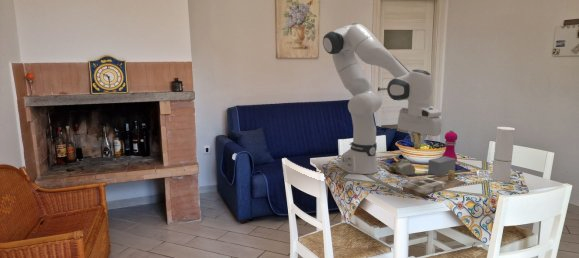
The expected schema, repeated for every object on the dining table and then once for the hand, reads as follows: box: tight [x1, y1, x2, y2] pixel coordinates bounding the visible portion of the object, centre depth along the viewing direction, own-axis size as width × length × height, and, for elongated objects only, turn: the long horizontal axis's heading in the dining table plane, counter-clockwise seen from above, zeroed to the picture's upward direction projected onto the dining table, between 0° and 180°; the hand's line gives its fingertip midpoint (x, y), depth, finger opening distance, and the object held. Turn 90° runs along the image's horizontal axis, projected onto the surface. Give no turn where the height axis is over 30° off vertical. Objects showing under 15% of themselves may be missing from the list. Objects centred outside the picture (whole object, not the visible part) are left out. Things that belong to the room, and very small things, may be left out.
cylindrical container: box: [491, 126, 516, 184], centre depth 182 cm, size 7×7×25 cm
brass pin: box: [413, 132, 422, 150], centre depth 168 cm, size 3×3×7 cm
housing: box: [427, 156, 457, 177], centre depth 194 cm, size 6×12×8 cm, turn 122°
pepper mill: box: [441, 128, 458, 162], centre depth 206 cm, size 7×7×20 cm
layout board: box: [402, 170, 468, 199], centre depth 177 cm, size 12×28×6 cm, turn 123°
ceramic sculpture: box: [387, 157, 416, 176], centre depth 196 cm, size 11×9×15 cm
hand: (417, 143), depth 169 cm, fingers closed on brass pin, 3 cm apart
